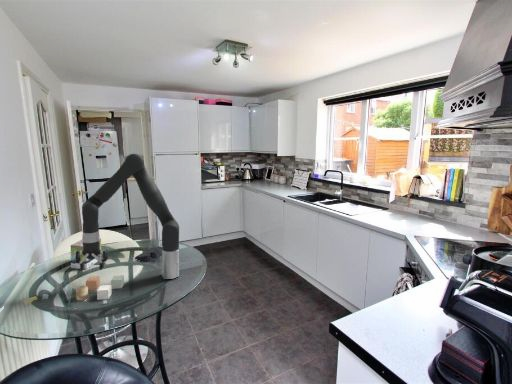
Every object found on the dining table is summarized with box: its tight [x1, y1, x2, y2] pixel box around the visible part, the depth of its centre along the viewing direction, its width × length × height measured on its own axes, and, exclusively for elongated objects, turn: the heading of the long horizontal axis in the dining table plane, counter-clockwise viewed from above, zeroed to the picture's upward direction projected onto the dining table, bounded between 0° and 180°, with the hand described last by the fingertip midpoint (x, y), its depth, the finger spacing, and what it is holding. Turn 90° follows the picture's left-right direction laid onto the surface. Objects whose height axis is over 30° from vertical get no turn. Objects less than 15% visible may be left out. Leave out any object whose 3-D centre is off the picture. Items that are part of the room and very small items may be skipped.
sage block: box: [110, 274, 125, 290], centre depth 144 cm, size 5×5×5 cm
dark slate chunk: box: [134, 245, 162, 263], centre depth 186 cm, size 15×22×5 cm
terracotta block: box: [85, 275, 101, 291], centre depth 142 cm, size 5×5×5 cm
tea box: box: [70, 238, 102, 270], centre depth 167 cm, size 15×10×15 cm
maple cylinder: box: [75, 285, 89, 302], centre depth 132 cm, size 5×5×5 cm
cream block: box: [96, 284, 113, 301], centre depth 134 cm, size 5×5×5 cm
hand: (92, 269), depth 140 cm, fingers open, 8 cm apart
